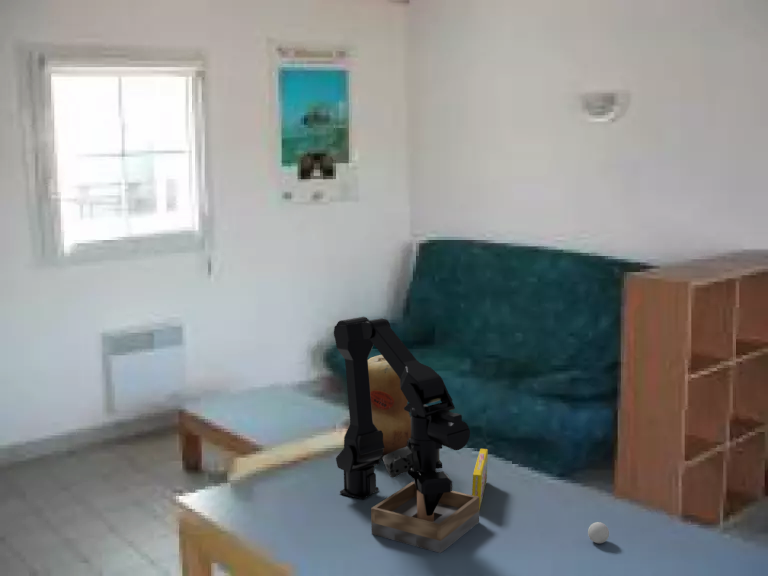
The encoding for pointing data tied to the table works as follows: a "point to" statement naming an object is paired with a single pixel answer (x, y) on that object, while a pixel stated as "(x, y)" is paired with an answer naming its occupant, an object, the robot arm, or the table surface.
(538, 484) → the table surface
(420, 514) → the peg
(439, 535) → the bore box
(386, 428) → the butternut squash
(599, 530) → the sports ball
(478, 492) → the candy box
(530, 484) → the table surface
